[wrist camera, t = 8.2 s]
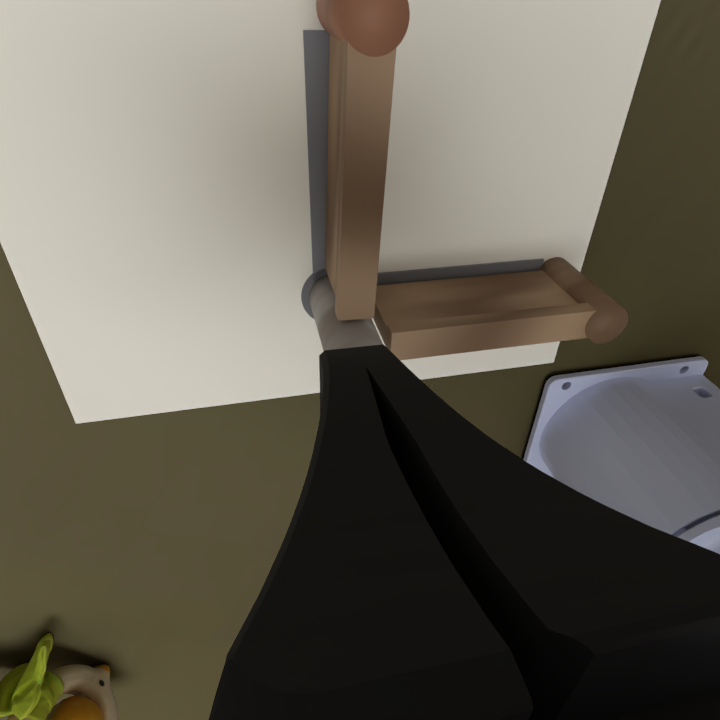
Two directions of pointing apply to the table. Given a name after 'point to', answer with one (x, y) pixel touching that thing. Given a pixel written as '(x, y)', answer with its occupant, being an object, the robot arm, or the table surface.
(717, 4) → the table surface
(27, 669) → the bird rattle
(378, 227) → the brown wooden bar
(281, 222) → the card
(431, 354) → the fixed fence section
